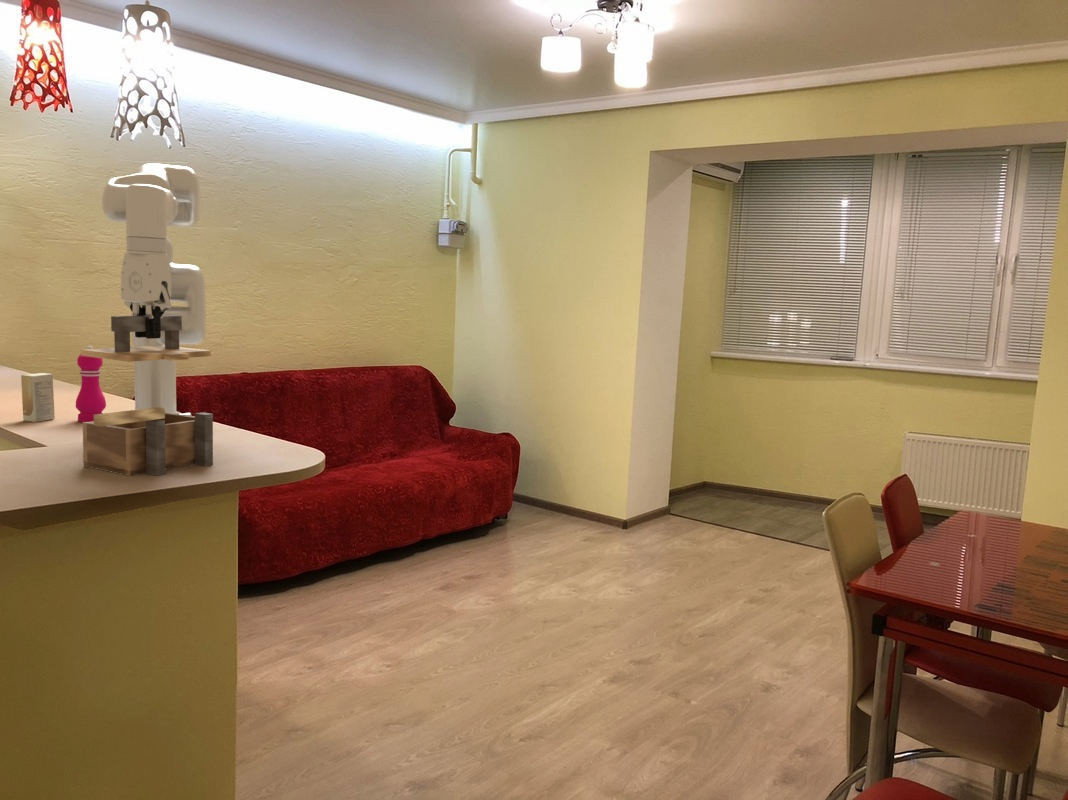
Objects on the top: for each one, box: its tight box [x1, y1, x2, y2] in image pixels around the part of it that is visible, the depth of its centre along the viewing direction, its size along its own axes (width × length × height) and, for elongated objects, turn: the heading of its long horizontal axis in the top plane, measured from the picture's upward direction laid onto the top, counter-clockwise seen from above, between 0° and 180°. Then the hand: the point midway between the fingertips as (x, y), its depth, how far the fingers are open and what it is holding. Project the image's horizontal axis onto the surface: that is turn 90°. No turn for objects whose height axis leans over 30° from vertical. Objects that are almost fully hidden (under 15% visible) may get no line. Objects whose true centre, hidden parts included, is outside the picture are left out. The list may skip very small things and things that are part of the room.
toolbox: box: [82, 412, 214, 477], centre depth 177 cm, size 20×18×11 cm
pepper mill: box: [75, 345, 107, 423], centre depth 227 cm, size 7×7×20 cm
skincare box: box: [20, 372, 56, 423], centre depth 224 cm, size 6×4×12 cm
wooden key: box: [94, 407, 165, 427], centre depth 163 cm, size 14×2×2 cm, turn 153°
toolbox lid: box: [80, 315, 212, 363], centre depth 175 cm, size 20×16×8 cm
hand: (147, 337), depth 176 cm, fingers closed on toolbox lid, 2 cm apart
